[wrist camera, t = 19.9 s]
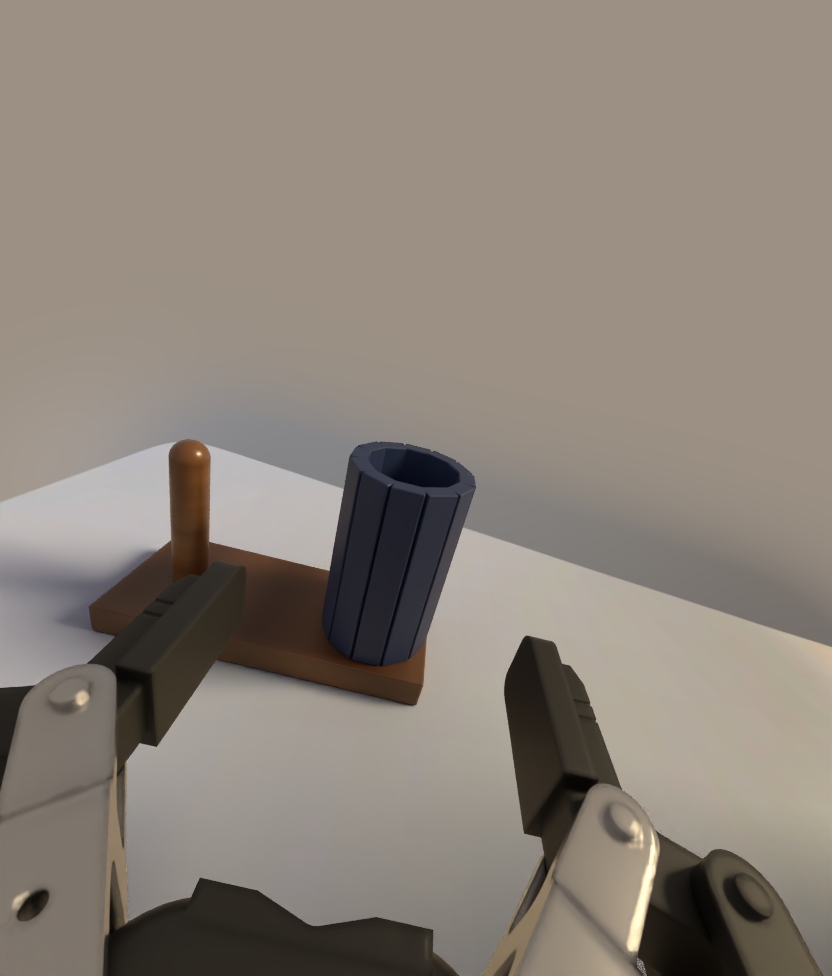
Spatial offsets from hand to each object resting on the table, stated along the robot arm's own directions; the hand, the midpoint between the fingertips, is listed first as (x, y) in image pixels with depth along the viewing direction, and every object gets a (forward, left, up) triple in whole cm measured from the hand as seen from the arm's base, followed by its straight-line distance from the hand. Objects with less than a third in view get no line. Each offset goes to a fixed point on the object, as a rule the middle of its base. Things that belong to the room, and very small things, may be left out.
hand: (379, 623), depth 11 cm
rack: (-2, -10, -10) cm, 15 cm away
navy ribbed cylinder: (-6, -7, -9) cm, 12 cm away
